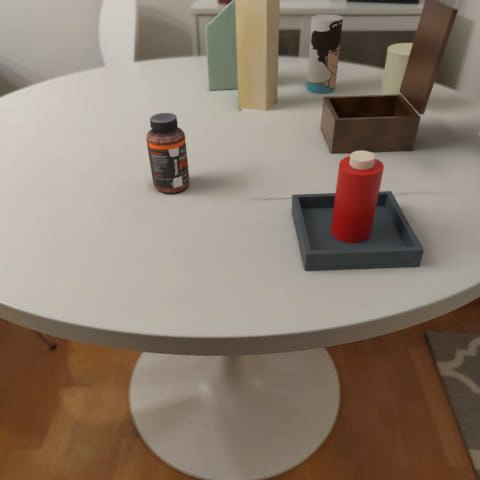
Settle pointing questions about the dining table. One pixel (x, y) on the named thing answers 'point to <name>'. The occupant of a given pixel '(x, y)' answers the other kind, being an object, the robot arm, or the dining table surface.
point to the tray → (354, 254)
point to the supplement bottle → (167, 154)
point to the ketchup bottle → (356, 196)
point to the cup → (324, 53)
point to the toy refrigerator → (257, 53)
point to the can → (395, 68)
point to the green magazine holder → (222, 50)
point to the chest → (369, 123)
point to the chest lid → (427, 52)
